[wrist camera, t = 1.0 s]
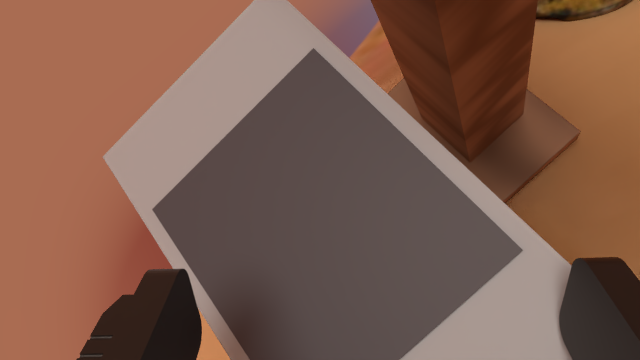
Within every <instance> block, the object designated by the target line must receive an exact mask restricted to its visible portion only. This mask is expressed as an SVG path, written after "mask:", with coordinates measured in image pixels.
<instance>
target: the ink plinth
mask: <svg viewBox="0 0 640 360" xmlns="http://www.w3.org/2000/svg"><path fill="white" fill-rule="evenodd" d="M103 158H104V160H105V161H106V163H107V164H108V166H109V167H110V169H111V170H112V172H113V174H114V175H115V177H116V179H117V180H118V181H119V183H120V185H121V186H122V188H123V190H124V191H125V193H126V194H127V196H128V197H129V199H130V201H131V202H132V204H133V205H134V207H135V209H136V210H137V212H138V213H139V215H140V217H141V218H142V220H143V221H144V223H145V224H146V226H147V227H148V229H149V230H150V232H151V234H152V236H153V237H154V239H155V240H156V242H157V243H158V245H159V247H160V248H161V250H162V251H163V253H164V255H165V256H166V258H167V259H168V261H169V262H170V264H171V265H172V267H173V269H185V270H186V271H187V273H188V275H189V278H190V282H191V285H192V289H193V293H194V296H195V300H196V304H197V307H198V308H199V310H200V311H201V313H202V315H203V316H204V318H205V319H206V321H207V323H208V324H209V326H210V327H211V329H212V330H213V332H214V334H215V335H216V337H217V338H218V340H219V342H220V343H221V345H222V346H223V348H224V349H225V351H226V353H227V354H228V356H229V357H230V359H231V360H572V358H571V356H570V354H569V352H568V350H567V348H566V346H565V344H564V341H563V338H562V335H561V331H560V324H559V315H560V309H561V305H562V301H563V298H564V294H565V290H566V286H567V282H568V278H569V274H570V271H571V267H572V266H571V265H570V264H569V263H568V262H567V261H566V260H565V259H564V258H563V257H562V256H561V255H560V254H558V253H557V252H556V251H555V250H554V249H553V248H552V247H551V246H550V245H549V244H548V243H547V242H546V241H544V240H543V239H542V238H541V237H540V236H539V235H538V234H537V233H536V232H535V231H534V230H533V229H532V228H531V227H529V226H528V225H527V224H526V223H525V222H524V221H523V220H522V219H521V218H520V217H519V216H518V215H517V214H516V213H514V212H513V211H512V210H511V209H510V208H509V207H508V206H507V205H506V204H505V203H504V202H503V201H502V200H501V199H499V198H498V197H497V196H496V195H495V194H494V193H493V192H492V191H491V190H490V189H489V188H488V187H487V186H486V185H484V184H483V183H482V182H481V181H480V180H479V179H478V178H477V177H476V176H475V175H474V174H473V173H472V172H471V171H469V170H468V169H467V168H466V167H465V166H464V165H463V164H462V163H461V162H460V161H459V160H458V159H457V158H455V157H454V156H453V155H452V154H451V153H450V152H449V151H448V150H447V149H446V148H445V147H444V146H443V145H442V144H440V143H439V142H438V141H437V140H436V139H435V138H434V137H433V136H432V135H431V134H430V133H429V132H428V131H427V130H425V129H424V128H423V127H422V126H421V125H420V124H419V123H418V122H417V121H416V120H415V119H414V118H413V117H412V116H410V115H409V114H408V113H407V112H406V111H405V110H404V109H403V108H402V107H401V106H400V105H399V104H398V103H397V102H395V101H394V100H393V99H392V98H391V97H390V96H389V95H388V94H387V93H386V92H385V91H384V90H383V89H382V88H380V87H379V86H378V85H377V84H376V83H375V82H374V81H373V80H372V79H371V78H370V77H369V76H368V75H366V74H365V73H364V72H363V71H362V70H361V69H360V68H359V67H358V66H357V65H356V64H355V63H354V62H353V61H351V60H350V59H349V58H348V57H347V56H346V55H345V54H344V53H343V52H342V51H341V50H340V49H338V48H337V47H336V46H335V45H334V44H333V43H332V42H331V41H330V40H329V39H328V38H327V37H326V36H325V35H324V34H323V33H321V32H320V31H319V30H318V29H317V28H316V27H315V26H314V25H313V24H312V23H311V22H309V20H307V19H306V18H305V17H304V16H303V15H302V14H301V13H300V12H299V11H298V10H297V9H296V8H295V7H294V6H292V5H291V4H290V3H289V2H288V1H287V0H254V1H253V2H252V3H251V5H249V6H248V8H247V9H245V11H244V12H243V13H242V14H241V15H240V16H239V17H238V18H237V19H236V20H235V21H234V22H233V23H232V24H231V25H230V26H229V27H228V28H227V29H226V30H225V31H224V32H223V33H222V34H221V35H220V36H219V37H218V38H217V39H216V40H215V42H213V43H212V45H211V46H210V47H209V48H208V49H207V50H206V51H205V52H204V53H203V54H202V55H201V56H200V57H199V58H198V59H197V60H196V61H195V62H194V63H193V64H192V65H191V66H190V67H189V68H188V69H187V70H186V71H185V72H184V74H182V76H181V77H180V78H179V79H178V80H177V81H176V82H175V83H174V84H173V85H172V86H171V87H170V88H169V89H168V90H167V91H166V92H165V93H164V94H163V95H162V96H161V97H160V98H159V99H158V100H157V101H156V102H155V103H154V104H153V105H152V106H151V108H149V109H148V111H147V112H146V113H145V114H144V115H143V116H142V117H141V118H140V119H139V120H138V121H137V122H136V123H135V124H134V125H133V126H132V127H131V128H130V129H129V130H128V131H127V132H126V133H125V134H124V135H123V136H122V137H121V138H120V139H119V140H118V141H117V143H116V144H115V145H114V146H113V147H112V148H111V149H110V150H109V151H108V152H107V153H106V154H105V155H104V156H103Z"/></svg>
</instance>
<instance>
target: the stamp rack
mask: <svg viewBox="0 0 640 360" xmlns="http://www.w3.org/2000/svg"><path fill="white" fill-rule="evenodd" d="M371 2H372V4H373V6H374V9H375V11H376V13H377V16H378V18H379V20H380V23H381V25H382V27H383V30H384V32H385V34H386V37H387V39H388V41H389V44H390V46H391V48H392V50H393V53H394V55H395V57H396V60H397V62H398V64H399V67H400V69H401V71H402V74H403V76H404V78H403V79H402V80H401V81H400V82H399V83H398V84H397V85H396V86H395V87H394V88H393V89H392V90H391V91H390V92H389V93H388V95H389V96H390V97H391V98H392V99H393V100H394V101H395V102H397V103H398V104H399V105H400V106H401V107H402V108H403V109H404V110H405V111H406V112H407V113H408V114H409V115H410V116H412V117H413V118H414V119H415V120H416V121H417V122H418V123H419V124H420V125H421V126H422V127H423V128H424V129H425V130H427V131H428V132H429V133H430V134H431V135H432V136H433V137H434V138H435V139H436V140H437V141H438V142H439V143H440V144H442V145H443V146H444V147H445V148H446V149H447V150H448V151H449V152H450V153H451V154H452V155H453V156H454V157H455V158H457V159H458V160H459V161H460V162H461V163H462V164H463V165H464V166H465V167H466V168H467V169H468V170H469V171H471V172H472V173H473V174H474V175H475V176H476V177H477V178H478V179H479V180H480V181H481V182H482V183H483V184H484V185H486V186H487V187H488V188H489V189H490V190H491V191H492V192H493V193H494V194H495V195H496V196H497V197H498V198H499V199H501V200H502V201H503V202H504V203H506V202H507V201H508V200H509V199H510V198H512V197H513V196H514V195H515V194H516V193H517V192H518V191H519V190H520V189H522V188H523V187H524V186H525V185H526V184H527V183H528V182H529V181H530V180H532V179H533V178H534V177H535V176H536V175H537V174H538V173H539V172H540V171H541V170H543V169H544V168H545V167H546V166H547V165H548V164H549V163H550V162H551V161H553V160H554V159H555V158H556V157H557V156H558V155H559V154H560V153H561V152H563V151H564V150H565V149H566V148H567V147H568V146H569V145H570V144H571V143H572V142H574V141H575V140H576V139H577V138H578V136H579V134H580V132H581V131H580V130H578V129H577V128H576V127H574V126H573V125H572V124H571V123H569V122H568V121H567V120H566V119H564V118H563V117H562V116H561V115H559V114H558V113H557V112H555V111H554V110H553V109H552V108H550V107H549V106H548V105H547V104H545V103H544V102H543V101H541V100H540V99H539V98H538V97H536V96H535V95H534V94H533V93H531V92H530V91H529V90H527V82H528V74H529V66H530V58H531V51H532V43H533V35H534V27H535V20H536V12H537V4H538V0H371Z"/></svg>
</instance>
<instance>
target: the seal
mask: <svg viewBox="0 0 640 360" xmlns="http://www.w3.org/2000/svg"><path fill="white" fill-rule="evenodd" d="M630 1H632V0H538V4H537V12H536V18H552V17H553V18H559V19H561V20H564V21H575V20H582V19H587V18H592V17H596V16H599V15H603V14H606V13H609V12H612V11H614V10H617V9H619V8H621V7H623V6H624V5H626V4H627V3H629V2H630Z"/></svg>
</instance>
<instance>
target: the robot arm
mask: <svg viewBox="0 0 640 360" xmlns="http://www.w3.org/2000/svg"><path fill="white" fill-rule="evenodd" d="M559 324H560V331H561V335H562V338H563V341H564V344H565V346H566V348H567V350H568V352H569V354H570V356H571V358H572V360H640V281H639V280H638V278H637V277H636V276H635V275H634V273H633V272H632V271H631V270H630V268H629V267H628V266H627V264H626V263H625V262H624V261H623V260H622V259H620V258H618V257H604V258H578V259H576V260H575V261H574V262H573V264H572V267H571V271H570V274H569V278H568V282H567V286H566V290H565V294H564V298H563V301H562V305H561V309H560V315H559ZM201 336H202V326H201V318H200V315H199V311H198V307H197V304H196V300H195V296H194V293H193V289H192V285H191V282H190V278H189V275H188V273H187V271H186V270H185V269H153V270H148V271H147V272H146V273H145V274H144V276H143V278H142V280H141V282H140V284H139V286H138V288H137V290H136V292H135V293H134V295H122V296H121V297H120V298H119V299H118V300H117V301H116V302H115V303H114V304H113V305H112V306H110V307H109V308H108V309H107V310H106V311H105V312H104V313H103V314H102V316H101V318H100V319H99V321H98V323H97V325H96V326H95V328H94V330H93V332H92V333H91V338H90V340H87V342H86V344H85V346H84V347H83V349H82V351H81V353H80V358H78V359H77V360H196V358H197V355H198V352H199V348H200V344H201Z"/></svg>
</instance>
